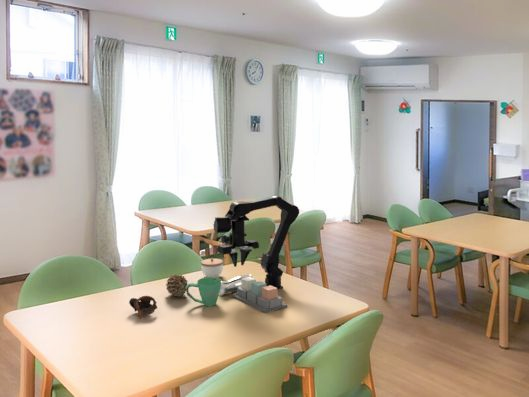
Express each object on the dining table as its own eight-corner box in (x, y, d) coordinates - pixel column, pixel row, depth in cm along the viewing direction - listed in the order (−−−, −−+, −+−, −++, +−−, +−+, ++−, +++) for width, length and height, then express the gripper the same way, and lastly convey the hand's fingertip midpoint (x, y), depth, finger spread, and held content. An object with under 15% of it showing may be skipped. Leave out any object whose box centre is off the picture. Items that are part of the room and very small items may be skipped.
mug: (219, 299, 218) (219, 276, 216) (223, 307, 208) (223, 283, 207) (185, 302, 214) (184, 279, 213) (187, 310, 205) (186, 286, 203)
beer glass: (219, 296, 225) (248, 289, 233) (225, 295, 219) (255, 288, 227) (215, 281, 226) (245, 274, 234) (222, 279, 220) (252, 272, 228)
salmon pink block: (270, 297, 211) (270, 285, 210) (277, 300, 207) (277, 288, 206) (261, 299, 208) (261, 287, 207) (268, 302, 205) (268, 290, 204)
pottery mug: (161, 310, 207) (161, 297, 202) (150, 328, 199) (150, 314, 194) (134, 301, 208) (133, 288, 203) (122, 318, 201) (121, 305, 196)
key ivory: (250, 287, 223) (249, 276, 222) (256, 290, 219) (255, 279, 218) (241, 289, 220) (241, 278, 219) (247, 292, 216) (247, 281, 216)
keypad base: (253, 291, 227) (253, 282, 226) (287, 306, 208) (287, 297, 207) (232, 296, 220) (232, 287, 220) (265, 313, 201) (265, 303, 201)
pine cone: (192, 299, 217) (192, 277, 216) (170, 303, 213) (169, 280, 212) (180, 284, 237) (179, 264, 236) (159, 287, 234) (158, 266, 232)
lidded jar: (198, 279, 245) (198, 260, 243) (204, 273, 255) (204, 254, 254) (220, 280, 243) (220, 261, 242) (225, 274, 253) (225, 255, 252)
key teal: (260, 292, 217) (260, 280, 216) (266, 295, 213) (266, 283, 212) (251, 294, 214) (251, 282, 213) (257, 297, 210) (257, 285, 210)
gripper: (245, 225, 234) (245, 258, 236) (210, 230, 223) (210, 265, 225) (259, 229, 225) (260, 263, 227) (223, 235, 214) (224, 271, 216)
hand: (238, 266), depth 224 cm, fingers open, 3 cm apart
